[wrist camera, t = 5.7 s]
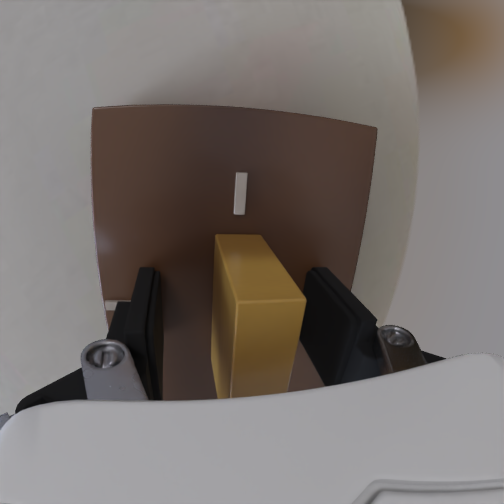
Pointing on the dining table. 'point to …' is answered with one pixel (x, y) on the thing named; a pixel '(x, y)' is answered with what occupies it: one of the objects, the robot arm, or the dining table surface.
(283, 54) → the dining table surface
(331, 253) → the panel
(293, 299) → the lock knob
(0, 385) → the dining table surface
